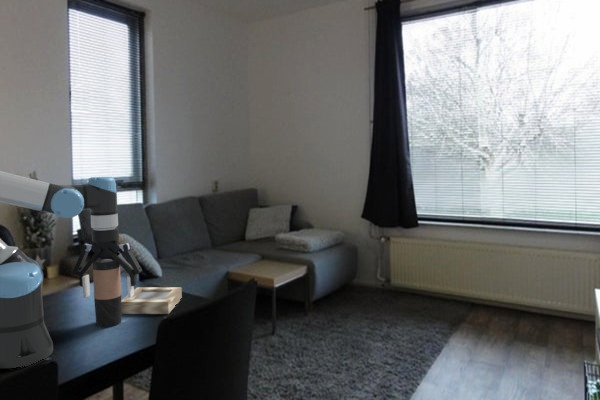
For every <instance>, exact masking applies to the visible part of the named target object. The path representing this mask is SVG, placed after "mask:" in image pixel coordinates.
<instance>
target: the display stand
mask: <svg viewBox="0 0 600 400" xmlns="http://www.w3.org/2000/svg"><path fill="white" fill-rule="evenodd" d="M182 290H183V289H182V287H181V286H180V287H179V286H178V287H173V286H171V287H169V286H166V287H161V286H159V287H157V286H156V287H155V286H154V287H153V286H149V287H148V286H147V287H146V286H145V287H144V286H143V287H142V286H140V287H139V286H137V287H136V288H134V295H133V296H132V297H131V298H128V294H127V295H126V296H125V297H123V298H121V315H125V314H126V315H127V314H129V315H136V314H137V315H158V314H159V315H170V313H171V312H172V310H173V309H174V308H175V307H176V306H177V305H178V304H179V303H180V301H181V300H182V299H183V295H182V293H183V292H182ZM181 298H182V299H181ZM180 299H181V300H180ZM176 304H177V305H176ZM175 305H176V306H175Z"/></svg>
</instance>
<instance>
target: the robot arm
mask: <svg viewBox="0 0 600 400" xmlns="http://www.w3.org/2000/svg"><path fill="white" fill-rule="evenodd" d="M116 183H117V182H116V179H115V178H114V177H112V176H91V177H89V178H88V181H87V183H85V184H67V185H65V184H62V185H61V184H60V185H59V184H55V183H50V182H47V181H42V180H38V179H35V178H31V177H27V176H22V175H18V174H14V173H10V172H7V171H2V170H0V203H2V204H8V205H13V206H17V207H20V208H21V207H22V208H26V209H29V210H34V211H40V212H43V213H48V214H52V215H56V216H57V217H59V218H64V219H72V218H75V217H76V216H79V215H80V214H81V212H83V211H87V210H89V212H90V227H91V229H92V230H91V232H90V233H91V242H92V244H89V242H87V243H86V242H85V243H84V244H82V245H81V252H80V254H79V256H78V259H77V261H76V263H75V265H74V267H73V270H72V275H74V276H75V275H76V276H78V278H79V287H82V295H83V299H87V298H88V297H90V296H91V288H90V286H91V285H90V274H88V272H89V271H90V269H91V268H93V261H96V260H97V259H98V258H100V259H111V258H113V259H114V260H116V261H117V262H118V263H119V264H120V267H121V268H122V269H123V270H124V271H125V272H126V273H127V276H126V281H127V295H128V298H131V297H132V296H133V295H134V290H135V286H136V285H137V275H139V274H140V273H142V272H143V269H142V267H141V265H140V264H139V261H138V260H137V258H136V256H135V254H134V252H133V250H132V249H131V244H130V243H129V242H126V243H123V244H121V243H120V231H119V227H118V226H119V215H118V195H117V194H118V193H117V185H116ZM91 250H92V251H93V255H92V256H91V257H90V259H89V261H88V262H86V264H85V261H86V259H87V257H88V254H89V253H90V251H91ZM120 250H121V251H122V252H123V253H124V256H125V257H126V258H125V257H124V256H123V254H122V253H121V252H120ZM126 259H127V260H128V261H127V260H126ZM84 264H85V265H84ZM83 266H84V267H83ZM43 282H44V272H43V270H42V268H41V266H40V264H39V263H38V262H37V261H35V260H34V259H33V258H31V257H29V256H27V255H26V254H25V253H24V252H23V251H22V250H21V249H20V248H19V247H18V246H10V245H8V244H7V243H6V242H4V241H3V240H2V238H0V368H16V367H21V368H25V367H29V366H32V365H34V364H33V363H35V364H37V363H39V362H38V361H40V360H42V359H44V360H45V359H47V358H49V357H50V356H51V355H52V354H53V352H54V343H53V340H52V337H51V336H50V333H49V330H48V328H47V326H46V324H45V320H44V319H45V317H44V316H45V315H44V303H43V302H44V300H43V299H44V298H43ZM42 361H43V360H42ZM36 362H37V363H36ZM40 362H41V361H40ZM31 364H32V365H31ZM22 366H23V367H22ZM24 366H25V367H24Z"/></svg>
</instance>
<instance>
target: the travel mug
mask: <svg viewBox="0 0 600 400" xmlns="http://www.w3.org/2000/svg"><path fill="white" fill-rule="evenodd" d="M92 275H93V276H92V277H93V301H94V312H95V314H94V315H95V323H96V326H97V328H98V327H99V328H112V327H115V326H118V325H120V324H121V323H122V314H121V300H122V280H121V265H120V264H119V263H118V262H117V261H116V260H114V259H113V258H111V259H106V258H105V259H100V258H98V259H97V260H96V261H93V266H92Z"/></svg>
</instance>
